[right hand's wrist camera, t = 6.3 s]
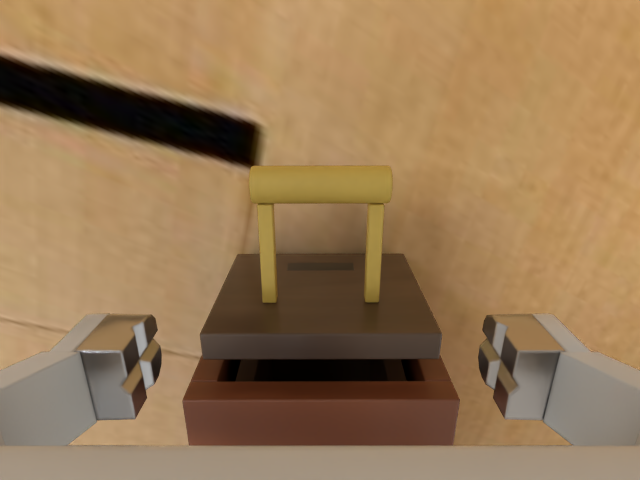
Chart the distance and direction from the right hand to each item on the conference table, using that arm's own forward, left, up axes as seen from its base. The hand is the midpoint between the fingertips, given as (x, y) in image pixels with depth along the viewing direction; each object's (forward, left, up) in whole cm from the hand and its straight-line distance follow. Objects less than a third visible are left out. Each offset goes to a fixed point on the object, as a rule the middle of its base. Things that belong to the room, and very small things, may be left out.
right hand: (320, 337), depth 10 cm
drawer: (+8, -2, -12) cm, 15 cm away
